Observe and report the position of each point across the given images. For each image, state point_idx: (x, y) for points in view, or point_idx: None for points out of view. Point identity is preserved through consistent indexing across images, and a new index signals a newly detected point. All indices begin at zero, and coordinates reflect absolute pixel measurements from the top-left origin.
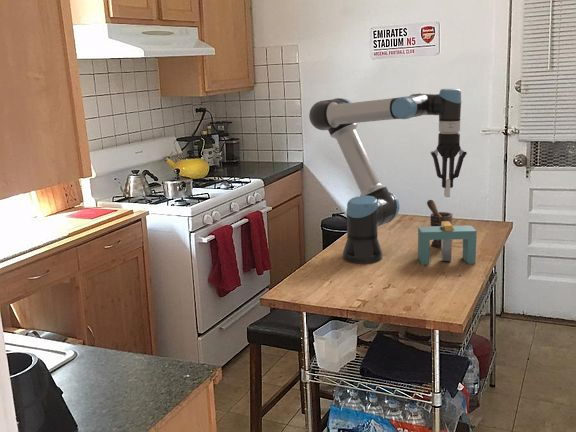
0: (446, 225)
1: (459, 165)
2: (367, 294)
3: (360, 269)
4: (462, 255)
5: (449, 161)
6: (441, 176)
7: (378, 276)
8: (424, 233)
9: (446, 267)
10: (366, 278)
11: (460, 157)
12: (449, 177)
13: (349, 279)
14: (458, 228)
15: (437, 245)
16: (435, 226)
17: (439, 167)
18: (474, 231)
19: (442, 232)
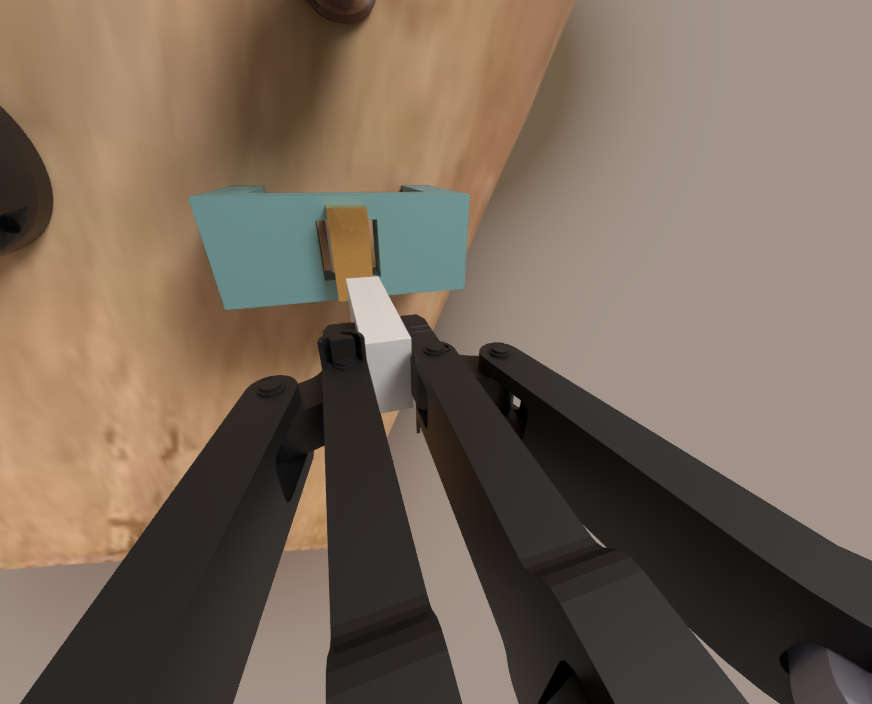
0: (346, 292)
1: (590, 512)
2: (129, 495)
3: (5, 324)
4: (403, 185)
5: (506, 545)
6: (313, 450)
7: (116, 383)
8: (240, 306)
9: None
10: (77, 403)
11: (724, 656)
12: (414, 379)
13: (12, 417)
14: (403, 246)
15: (315, 5)
16: (293, 200)
17: (268, 584)
18: (455, 288)
19: (326, 300)
